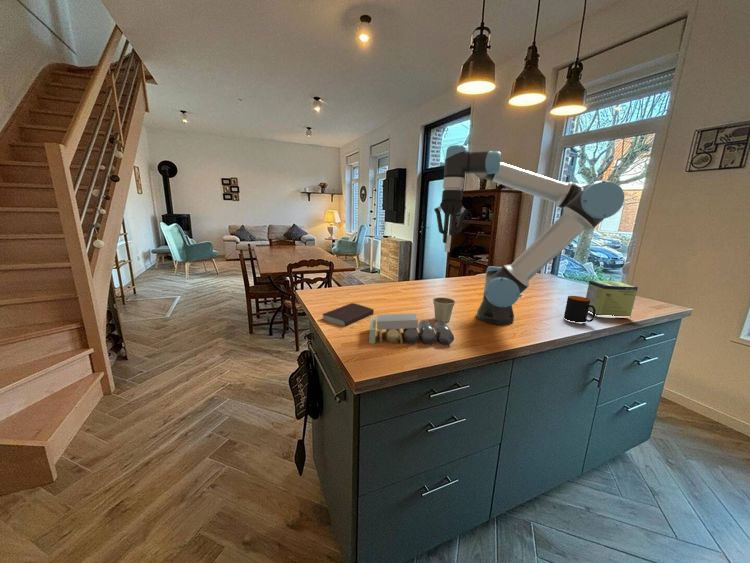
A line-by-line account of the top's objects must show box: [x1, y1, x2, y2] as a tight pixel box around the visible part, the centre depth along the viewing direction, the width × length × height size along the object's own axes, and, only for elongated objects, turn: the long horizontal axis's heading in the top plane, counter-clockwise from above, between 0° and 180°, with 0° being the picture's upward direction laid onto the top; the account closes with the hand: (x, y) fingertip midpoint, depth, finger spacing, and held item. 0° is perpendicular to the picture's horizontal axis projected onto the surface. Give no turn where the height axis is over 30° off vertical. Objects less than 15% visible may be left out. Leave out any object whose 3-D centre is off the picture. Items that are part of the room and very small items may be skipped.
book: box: [321, 302, 375, 328], centre depth 127 cm, size 12×19×3 cm, turn 145°
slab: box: [376, 312, 419, 331], centre depth 107 cm, size 14×7×3 cm, turn 90°
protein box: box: [585, 280, 639, 317], centre depth 143 cm, size 10×16×16 cm
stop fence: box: [368, 316, 377, 344], centre depth 108 cm, size 2×12×5 cm, turn 0°
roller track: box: [378, 319, 455, 346], centre depth 108 cm, size 25×11×5 cm, turn 90°
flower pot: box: [432, 296, 456, 323], centre depth 127 cm, size 9×9×9 cm
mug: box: [563, 295, 596, 323], centre depth 131 cm, size 8×12×10 cm
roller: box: [385, 329, 400, 344], centre depth 108 cm, size 10×5×5 cm
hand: (447, 251), depth 120 cm, fingers closed
